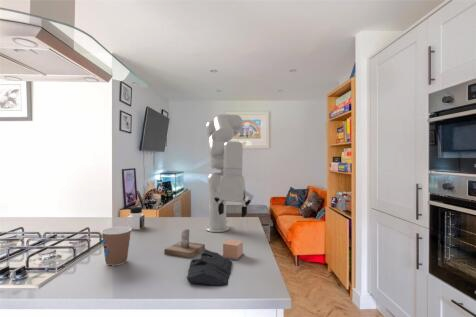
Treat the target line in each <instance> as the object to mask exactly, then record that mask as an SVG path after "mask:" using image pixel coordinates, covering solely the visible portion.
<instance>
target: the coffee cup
mask: <svg viewBox="0 0 476 317" xmlns="http://www.w3.org/2000/svg"><path fill="white" fill-rule="evenodd" d="M131 231H133V229H131V228H130V227H127V226H114V227H113V226H112V227H108V228H104V229H103V230H101V231H100V232H101V235H102V236H101V237H102V245H103V252H104V253H103V254H104V259H105V260H104V262H105V265H106V266H109V265H112V266H113V265H117V266H120V265H124V264H126V263H127V259H128V255H129V254H128V253H129V249H130V248H129V247H130V240H131V233H132V232H131ZM112 266H111V267H112ZM113 267H114V266H113Z"/></svg>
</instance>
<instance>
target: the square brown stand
mask: <svg viewBox="0 0 476 317" xmlns="http://www.w3.org/2000/svg"><path fill="white" fill-rule="evenodd" d="M180 231H181V239H180V241H178V242H176V243H175V244H172V245H170V246H168V247H166V248H164V250H163V252H164V255H167V256H168V255H169V256H173V257H174V256H175V257H181V258H187V259H191V258H193V257H195V256H196V255H198V254H199V253H202V252H203V251H204V250H206V244H205V243H199V242H198V243H196V242H191V241H190V228H183V229H181V230H180Z"/></svg>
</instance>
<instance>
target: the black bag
mask: <svg viewBox="0 0 476 317" xmlns="http://www.w3.org/2000/svg"><path fill="white" fill-rule="evenodd" d="M232 264H233V262H232V260H229V259H225V258H224V257H222V255H221V254H220V253H219V252H215V251H211V250H208V249H204V250H202V252H201V253H200V258H196V259H191V261H190V264H189V268H188V270H187V276H186V280H187V282H188V283H190V284H201V285H202V284H203V285H209V286H217V287H224V286H228V285H229V280H230V276H231V271H232Z"/></svg>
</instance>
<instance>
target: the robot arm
mask: <svg viewBox="0 0 476 317" xmlns="http://www.w3.org/2000/svg"><path fill="white" fill-rule="evenodd" d="M205 125H206V126H205V131H206V136H207V140H208V152H209V157H210V158H209V160H210V162H209V163H210V168H211V169H212V170H215V171H216V170H217V171H216V172H211V173H210V174H208V176H207V186H208V226H206V227H205V230H206V231H207V232H210V233H225V232H228V231H229V230H230V227H229V226H228V225H227V223H228V222H229V221H228V220H227V202H234V203H240V204H241V205H242V206H241V217H242V218H244V217H246V215H247V214H248V206H249V205H250V204H251V203H252V201H253V199H254V198H255V196H254V195H253V194H252V193H250V192H248V191H247V190H246V182H245V177H244V175H243V156H244V155H243V154H244V148H243V147H244V146H243V143H242V141H236V140H235V141H232V140H233V138H234V137H238V135H239V134H240V133H241V132H242V129H243V126H244V122H243V119H242V117H241V116H240V115H239V114H229V113H228V114H225V113H223V114H217V115H216V116H215V118H214V119H213V120H211V121H208V122H207V123H206V124H205ZM219 170H220V171H219ZM218 171H219V172H218ZM246 197H248V199H247V200H246Z"/></svg>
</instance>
